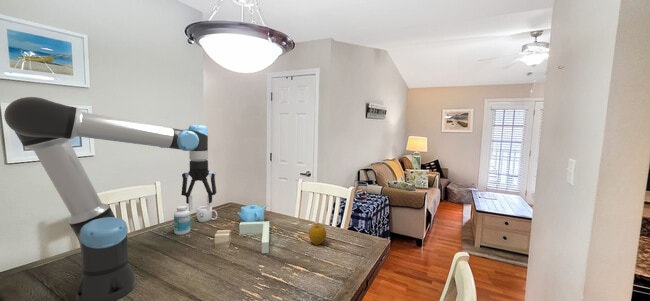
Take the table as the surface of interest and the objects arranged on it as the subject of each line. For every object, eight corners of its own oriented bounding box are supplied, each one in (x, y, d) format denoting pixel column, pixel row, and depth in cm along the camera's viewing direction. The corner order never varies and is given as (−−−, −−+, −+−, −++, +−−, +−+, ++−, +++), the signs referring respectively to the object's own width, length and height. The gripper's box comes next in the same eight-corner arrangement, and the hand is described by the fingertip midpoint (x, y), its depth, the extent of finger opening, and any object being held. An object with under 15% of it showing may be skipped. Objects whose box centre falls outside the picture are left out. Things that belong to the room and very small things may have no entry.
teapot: (232, 223, 152) (232, 204, 151) (262, 217, 163) (262, 199, 161) (242, 233, 139) (243, 211, 138) (274, 226, 150) (274, 206, 149)
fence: (268, 253, 118) (268, 242, 118) (233, 255, 115) (233, 244, 115) (269, 230, 144) (269, 221, 143) (240, 231, 141) (240, 222, 140)
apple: (329, 244, 129) (330, 226, 128) (315, 249, 123) (316, 230, 123) (319, 238, 135) (319, 221, 135) (305, 242, 130) (305, 224, 129)
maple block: (228, 247, 123) (228, 234, 122) (214, 248, 121) (214, 235, 121) (230, 242, 128) (230, 229, 128) (217, 242, 127) (217, 230, 127)
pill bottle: (173, 231, 139) (173, 205, 138) (189, 228, 143) (189, 203, 142) (174, 236, 133) (174, 209, 131) (191, 233, 137) (191, 207, 135)
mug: (193, 222, 151) (193, 209, 151) (201, 217, 160) (201, 204, 159) (214, 223, 151) (213, 210, 150) (220, 218, 159) (220, 205, 158)
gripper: (223, 158, 125) (223, 206, 127) (177, 158, 121) (178, 208, 123) (220, 161, 118) (221, 212, 120) (171, 160, 114) (172, 213, 116)
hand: (199, 210), depth 121 cm, fingers open, 7 cm apart
